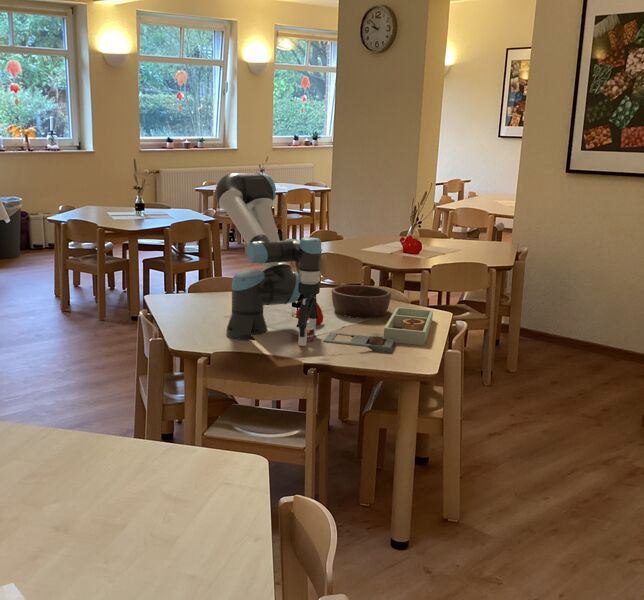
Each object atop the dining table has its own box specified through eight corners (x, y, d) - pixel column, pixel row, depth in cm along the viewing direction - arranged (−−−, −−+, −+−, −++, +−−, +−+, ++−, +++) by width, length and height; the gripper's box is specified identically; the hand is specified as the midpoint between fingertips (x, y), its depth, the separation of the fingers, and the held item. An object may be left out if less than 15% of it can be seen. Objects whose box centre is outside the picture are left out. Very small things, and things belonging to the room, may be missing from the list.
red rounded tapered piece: (308, 330, 295) (292, 308, 294) (328, 315, 295) (311, 293, 293) (308, 335, 286) (291, 312, 284) (328, 320, 285) (311, 297, 283)
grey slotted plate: (323, 345, 266) (323, 340, 266) (330, 337, 278) (330, 332, 277) (390, 352, 261) (390, 347, 261) (394, 344, 273) (395, 338, 272)
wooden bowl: (401, 318, 314) (403, 294, 312) (354, 324, 300) (355, 299, 298) (365, 305, 334) (366, 283, 332) (319, 311, 320) (320, 287, 318)
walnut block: (369, 348, 266) (370, 336, 265) (369, 345, 270) (370, 333, 270) (382, 349, 266) (383, 336, 265) (381, 345, 270) (382, 333, 269)
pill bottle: (303, 346, 264) (304, 323, 262) (298, 343, 269) (299, 320, 267) (315, 345, 266) (316, 322, 264) (310, 342, 270) (311, 319, 269)
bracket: (423, 342, 287) (424, 324, 286) (401, 340, 288) (402, 323, 287) (424, 330, 304) (424, 313, 303) (403, 329, 306) (404, 312, 304)
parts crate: (383, 341, 276) (384, 328, 275) (395, 318, 311) (396, 307, 310) (424, 345, 273) (425, 332, 272) (432, 322, 308) (433, 310, 307)
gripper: (311, 289, 250) (309, 350, 254) (327, 277, 274) (324, 333, 278) (289, 287, 251) (287, 348, 256) (307, 275, 275) (305, 331, 280)
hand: (307, 340), depth 267 cm, fingers open, 13 cm apart
